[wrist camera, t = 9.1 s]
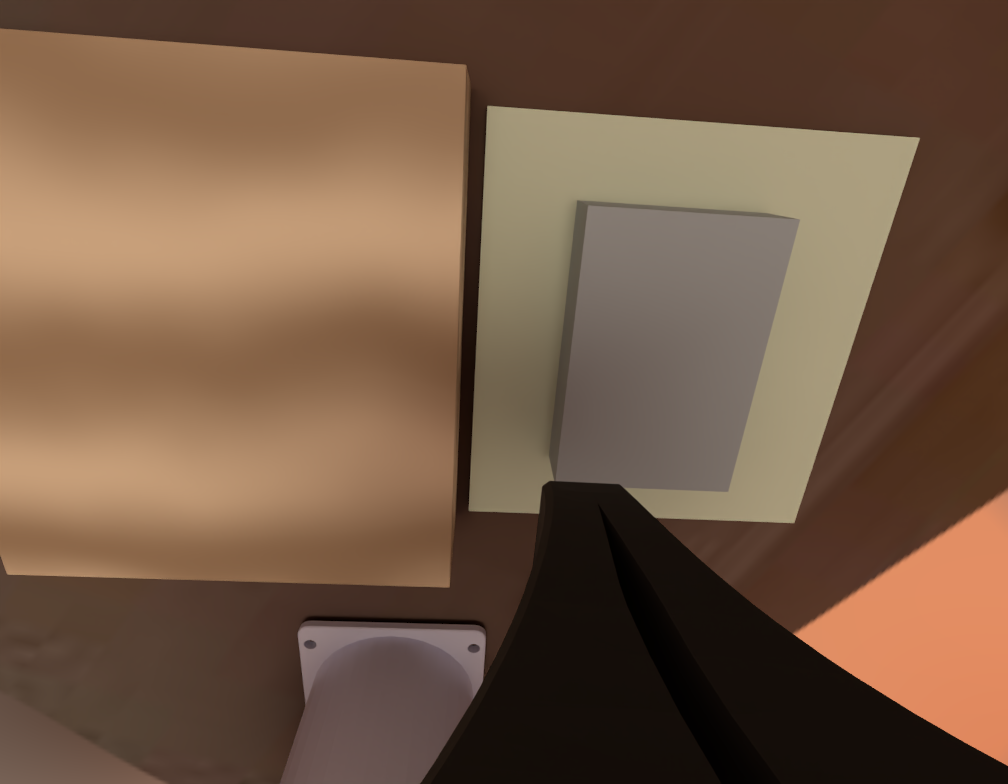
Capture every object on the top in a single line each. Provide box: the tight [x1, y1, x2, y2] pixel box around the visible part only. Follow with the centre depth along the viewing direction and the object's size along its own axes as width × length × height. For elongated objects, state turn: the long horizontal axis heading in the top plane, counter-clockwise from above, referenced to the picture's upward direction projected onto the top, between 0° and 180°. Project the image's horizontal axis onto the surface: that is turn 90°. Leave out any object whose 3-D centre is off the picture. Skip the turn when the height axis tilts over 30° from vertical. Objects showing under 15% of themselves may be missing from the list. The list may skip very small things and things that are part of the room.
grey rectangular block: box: [549, 200, 800, 492], centre depth 18 cm, size 9×6×2 cm, turn 176°
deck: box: [0, 29, 471, 587], centre depth 17 cm, size 15×14×4 cm
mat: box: [469, 106, 920, 523], centre depth 19 cm, size 14×13×1 cm
